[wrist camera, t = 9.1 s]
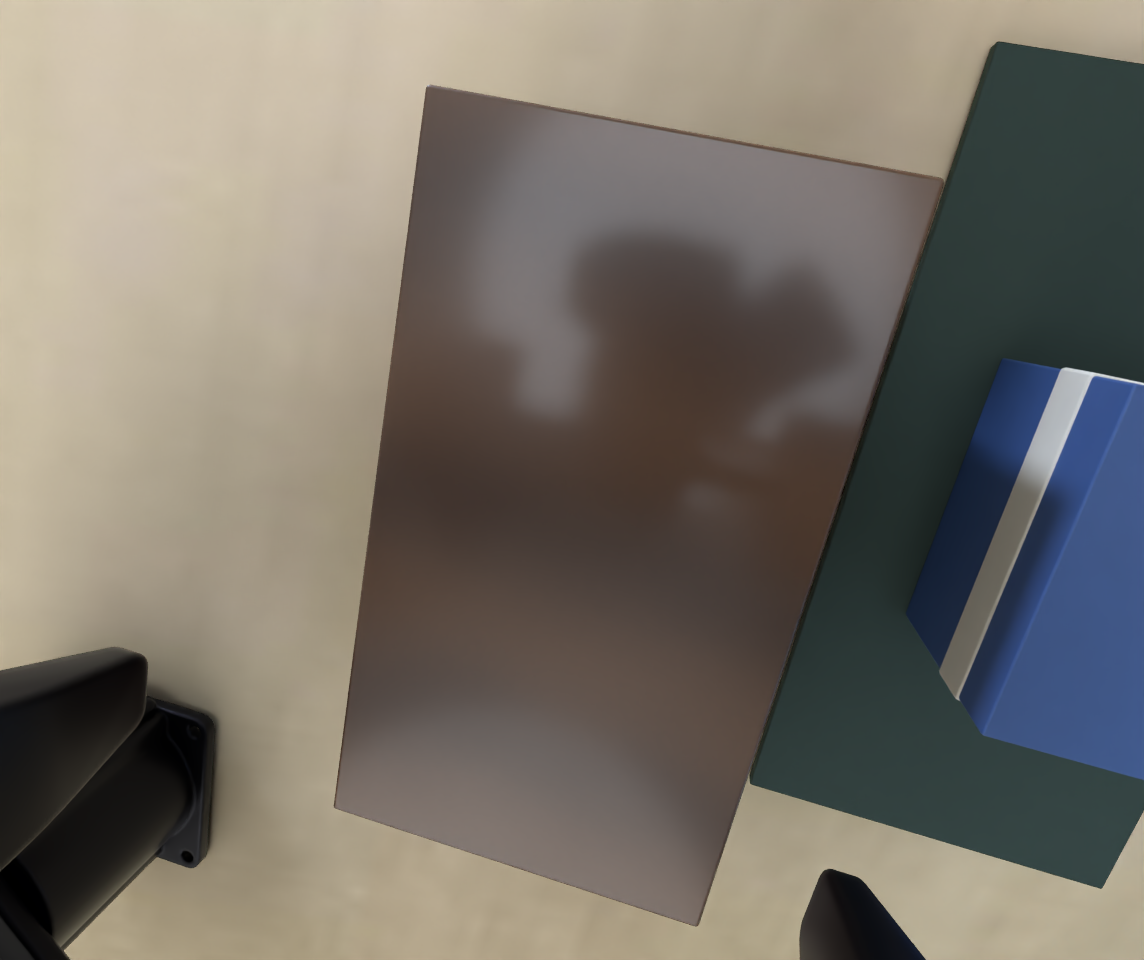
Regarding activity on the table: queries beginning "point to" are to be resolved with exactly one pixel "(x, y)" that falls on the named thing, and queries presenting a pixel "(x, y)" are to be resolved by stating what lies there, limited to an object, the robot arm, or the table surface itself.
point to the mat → (934, 458)
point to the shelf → (608, 480)
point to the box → (1046, 568)
